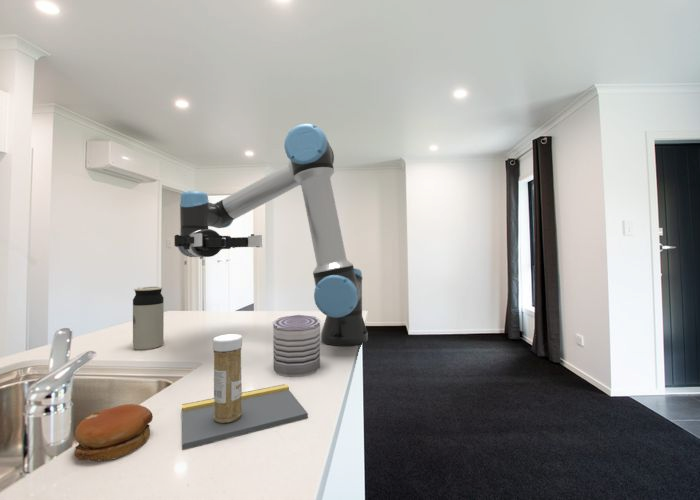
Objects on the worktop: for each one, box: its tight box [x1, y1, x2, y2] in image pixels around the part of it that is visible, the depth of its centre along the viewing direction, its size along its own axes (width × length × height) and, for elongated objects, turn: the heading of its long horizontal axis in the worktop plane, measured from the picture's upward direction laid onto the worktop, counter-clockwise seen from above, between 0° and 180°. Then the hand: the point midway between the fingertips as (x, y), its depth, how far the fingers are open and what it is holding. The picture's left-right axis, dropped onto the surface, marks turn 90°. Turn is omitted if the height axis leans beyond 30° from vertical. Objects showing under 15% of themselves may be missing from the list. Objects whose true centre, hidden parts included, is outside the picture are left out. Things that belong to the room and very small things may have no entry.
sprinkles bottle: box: [212, 333, 243, 423], centre depth 54 cm, size 5×5×14 cm
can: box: [271, 314, 322, 378], centre depth 79 cm, size 11×11×12 cm
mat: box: [181, 383, 309, 450], centre depth 57 cm, size 19×14×1 cm
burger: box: [73, 403, 154, 462], centre depth 48 cm, size 10×9×5 cm
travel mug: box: [132, 286, 165, 351], centre depth 99 cm, size 8×8×18 cm
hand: (232, 240), depth 73 cm, fingers open, 13 cm apart
